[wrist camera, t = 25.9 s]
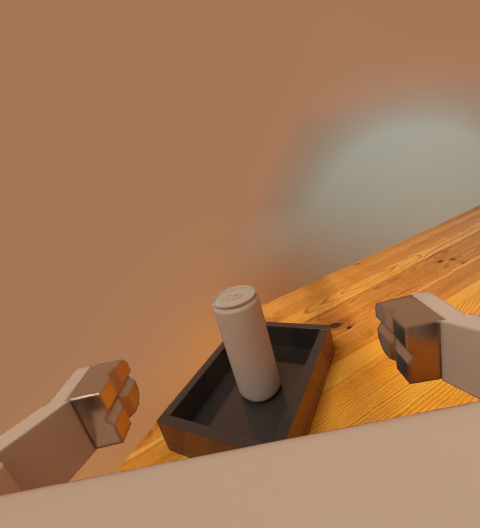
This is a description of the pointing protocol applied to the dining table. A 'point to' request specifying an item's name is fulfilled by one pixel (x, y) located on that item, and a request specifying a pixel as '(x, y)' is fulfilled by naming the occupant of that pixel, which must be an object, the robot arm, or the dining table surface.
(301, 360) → the dark shallow tray
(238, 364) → the beverage can
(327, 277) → the dining table surface
